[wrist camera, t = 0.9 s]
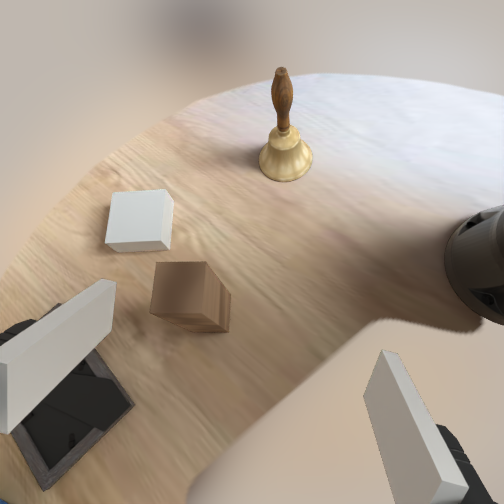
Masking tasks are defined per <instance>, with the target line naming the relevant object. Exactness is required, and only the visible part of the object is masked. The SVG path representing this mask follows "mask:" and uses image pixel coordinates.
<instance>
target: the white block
mask: <svg viewBox="0 0 504 504" xmlns="http://www.w3.org/2000/svg"><path fill="white" fill-rule="evenodd" d="M173 208H174V201H173V199H172V198H171V196H170V195H169V193H168V192H167V190H166V189H159V190H144V191H128V192H113V194H112V200H111V207H110V213H109V219H108V226H107V232H106V238H105V244H106V245H108V246H109V247H111V248H112V249H114V250H115V251H116V252H139V251H160V250H170V243H171V232H172V220H173Z"/></svg>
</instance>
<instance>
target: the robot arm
mask: <svg viewBox="0 0 504 504" xmlns="http://www.w3.org/2000/svg"><path fill="white" fill-rule="evenodd" d="M445 269H446V273H447V276H448V279H449V281H450V283H451V285H452V287H453V289H454V290H455V292H456V293H457V295H458V296H459V297H460V298H461V300H462V301H463V302H464V303H465V304H466V305H467V306H468V307H470V308H471V309H472V310H473V311H475V312H476V313H478V314H479V315H481V316H482V317H484V318H486V319H488V320H490V321H492V322H495V323H498V324H500V325H504V205H501V206H498V207H494V208H491V209H487V210H484V211H482V212H479V213H477V214H475V215H474V216H472V217H470V218H469V219H468V220H466V221H465V222H464V223H463V224H462V225H461V226H460V227H459V228H457V230H456V231H455V232H454V233H453V234H452V236H451V237H450V239H449V241H448V244H447V246H446V250H445ZM116 284H117V282H114V281H110V280H106V279H100V280H99V281H97V282H96V283H94V284H93V285H91V286H90V287H88V288H87V289H85V290H84V291H82V292H81V293H79V294H78V295H76V296H75V297H73V298H72V299H70V300H69V301H67V302H66V303H64V304H63V305H61V306H60V307H58V308H57V309H55V310H54V311H52V312H51V313H49V314H48V315H46V316H45V317H43V318H42V319H40V320H39V321H36V320H32V319H29V320H26V321H23V322H20V323H17V324H15V325H13V326H12V327H10V328H9V329H7V330H5V331H4V333H1V334H0V433H4V434H9V433H10V432H11V431H12V430H13V429H14V428H15V427H16V426H17V425H18V424H19V423H20V422H21V421H22V420H23V419H24V418H25V417H26V416H27V415H28V414H29V413H30V412H31V411H32V410H33V409H34V408H35V407H36V406H37V405H38V404H39V403H40V402H41V401H42V400H43V399H44V398H45V397H46V396H47V395H48V394H49V393H50V392H51V391H52V390H53V389H54V388H55V387H56V386H57V385H58V384H59V383H60V382H61V381H62V380H63V379H64V378H65V377H66V376H67V375H68V374H69V373H70V372H71V371H72V370H73V369H74V368H75V367H76V366H77V365H78V364H79V363H80V362H81V361H82V360H83V359H84V358H85V357H86V356H87V355H88V354H89V353H90V352H91V351H92V350H93V349H94V348H95V347H96V346H97V345H98V344H99V343H100V342H101V341H102V340H103V339H104V338H105V337H106V336H107V335H108V334H109V333H110V332H111V331H112V322H113V312H114V303H115V293H116ZM363 397H364V400H365V404H366V407H367V410H368V414H369V417H370V420H371V424H372V427H373V430H374V434H375V437H376V440H377V444H378V447H379V451H380V454H381V457H382V461H383V464H384V467H385V471H386V474H387V477H388V481H389V484H390V487H391V491H392V494H393V497H394V501H395V504H498V503H496V502H493V500H492V499H491V497H490V495H489V494H488V492H487V490H486V488H485V487H484V485H483V483H482V481H481V480H480V478H479V476H478V474H477V473H476V471H475V469H474V468H473V466H472V465H471V464H470V461H469V459H468V457H467V455H466V454H464V451H463V449H462V447H461V446H460V444H459V442H458V440H457V438H455V436H453V434H452V433H451V432H450V431H449V430H448V429H447V428H446V427H445V426H442V425H438V424H435V423H434V421H433V419H432V417H431V415H430V413H429V411H428V410H427V408H426V406H425V404H424V402H423V400H422V398H421V396H420V395H419V393H418V391H417V389H416V387H415V385H414V383H413V382H412V380H411V378H410V376H409V374H408V372H407V370H406V368H405V366H404V365H403V363H402V361H401V359H400V357H399V356H398V354H397V353H394V352H390V351H386V350H381V352H380V355H379V358H378V360H377V363H376V365H375V368H374V370H373V373H372V375H371V378H370V380H369V383H368V385H367V388H366V390H365V393H364V395H363Z"/></svg>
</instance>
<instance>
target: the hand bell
mask: <svg viewBox="0 0 504 504" xmlns="http://www.w3.org/2000/svg"><path fill="white" fill-rule="evenodd" d="M271 95H272V102H273V105H274V108H275V110H276V112H277V126H276V127H275V128H274V129H272V131H271V132H270V134H269V141H268V143H267V144H266V145H265V146H264V147H263V149H262V150H261V152H260V155H259V165H260V168H261V170H262V172H263V173H264V174H265V175H266V176H267V177H269V178H271V179H273V180H276V181H280V182H288V181H293V180H296V179H298V178H300V177H302V176H303V175H304V174H305V173H306V172H307V171H308V170H309V168H310V166H311V164H312V152H311V149H310V147H309V146H308V145H307V144H306V143H305V142H304V141H303V140H301V139H300V133H299V131H298V130H297V129H296V128H295V127H294V126H292V125H290V122H289V111H290V108H291V105H292V100H293V87H292V83H291V80H290V78H289V76H288V73H287V70H286V68H283V67H279V68H277V69H276V72H275V77H274V80H273V83H272V88H271Z"/></svg>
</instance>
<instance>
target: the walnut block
mask: <svg viewBox="0 0 504 504" xmlns="http://www.w3.org/2000/svg"><path fill="white" fill-rule="evenodd" d="M230 301H231V294H230V293H229V292H228V290H227V289H226V288H225V286H224V285H223V284H222V282H221V281H220V280H219V278H218V277H217V276H216V274H215V273H214V272H213V270H212V269H211V268H210V266H209V265H208V264H207V262H156V269H155V276H154V284H153V291H152V299H151V306H150V313H151V314H153V315H156V316H158V317H160V318H162V319H164V320H167V321H169V322H171V323H173V324H176V325H178V326H180V327H182V328H184V329H187V330H189V331H191V332H229V321H230Z"/></svg>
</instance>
